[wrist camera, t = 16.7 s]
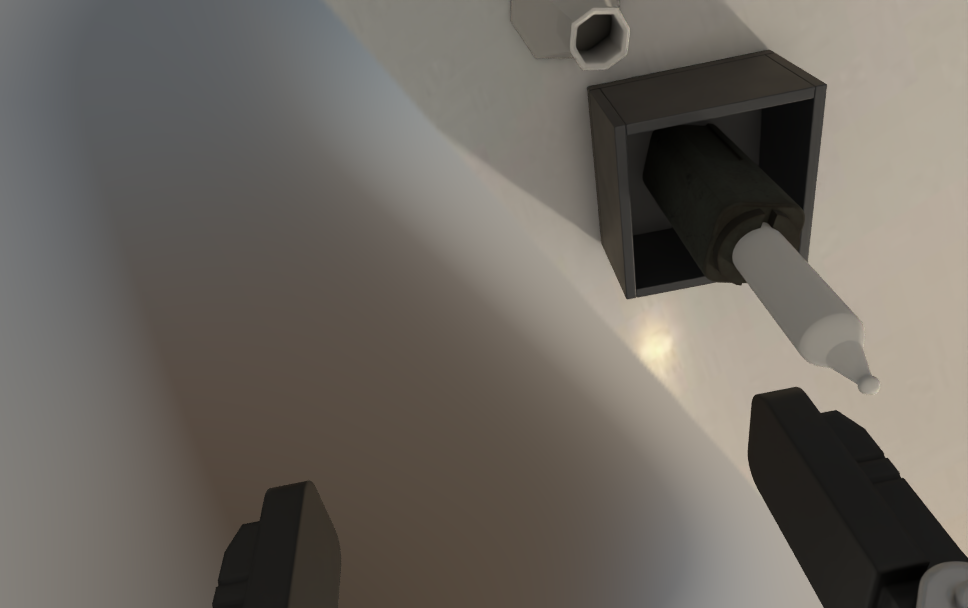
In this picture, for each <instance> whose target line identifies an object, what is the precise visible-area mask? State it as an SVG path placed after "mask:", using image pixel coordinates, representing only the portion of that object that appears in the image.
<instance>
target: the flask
mask: <svg viewBox="0 0 968 608" xmlns="http://www.w3.org/2000/svg"><path fill="white" fill-rule="evenodd" d="M619 7H620V0H511V22H512V24H513V25H514V27H515V28H516V30H517V31H518V33H519V34H520V36H521V37H522V39H523V40H524V42H525V43H526V45H527V46H528V48H529V49H530V51H531V52H532V54H533V55H534V57H535V58H575V60H576V62H577V63H578V65H579V66H580V68H581V69H582V70H607V69H608V68H610V67H611V66H612V65H614V64H615V63H617V62H618V61H619V60H621V59H622V58H623V57H625V56H626V55H627V52H628V44H629V36H630V27H629V26H628V24H627V22H626V20H625V19H624V17H623V15H622V13H621V12H620V10H619Z"/></svg>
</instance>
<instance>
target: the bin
mask: <svg viewBox="0 0 968 608" xmlns="http://www.w3.org/2000/svg"><path fill="white" fill-rule="evenodd" d="M826 89H827V84H825V83H824V82H822V81H820V80H819V79H817V78H815V77H814V76H812V75H811V74H809V73H807V72H806V71H804V70H802V69H801V68H799V67H797V66H796V65H794V64H792V63H791V62H789V61H787V60H786V59H784V58H783V57H781V56H779V55H778V54H776V53H774V52H773V51H771V50H766V51H761V52H756V53H751V54H747V55H742V56H737V57H732V58H727V59H722V60H717V61H712V62H707V63H702V64H698V65H693V66H688V67H683V68H678V69H673V70H668V71H663V72H658V73H653V74H649V75H644V76H639V77H634V78H629V79H624V80H619V81H614V82H609V83H604V84H600V85H595V86H590V87H587V92H588V103H589V113H590V124H591V135H592V146H593V157H594V167H595V178H596V189H597V200H598V211H599V221H600V232H601V243H602V246H603V248H604V250H605V252H606V255H607V257H608V259H609V261H610V263H611V266H612V268H613V270H614V272H615V274H616V277H617V279H618V281H619V283H620V286H621V288H622V290H623V292H624V294H625V297H626V299H632V298H636V297H643V296H648V295H653V294H658V293H663V292H669V291H674V290H679V289H684V288H689V287H695V286H700V285H705V284H710V283H715V282H713V281H710V280H708V279H707V278H706V277H705V276H704V274H703V273H702V271H701V270H700V268H699V267H698V265H697V263H696V262H695V260H694V259H693V257H692V256H691V254H690V253H689V251H688V250H687V248H686V247H685V245H684V244H683V242H682V241H681V239H680V238H679V236H678V234H677V233H676V231H675V230H674V228H673V227H672V225H671V224H670V222H669V221H668V219H667V218H666V216H665V215H664V213H663V212H662V210H661V209H660V207H659V205H658V204H657V202H656V201H655V199H654V198H653V196H652V195H651V193H650V192H649V190H648V189H647V187H646V186H645V184H644V182H643V171H644V166H645V162H646V157H647V153H648V148H649V144H650V139H651V136H652V133H653V131H654V130H657V129H662V128H667V127H672V126H677V125H696V126H706V125H707V124H708V123H709V124H714V125H715V126H717V127H718V128H719V129H720V130H721V131H722V132H723V133H724V134H725V135H726V136H727V137H728V138H730V139H731V140H732V141H733V142H734V143H735V144H736V145H737V146H738V147H739V148H740V149H741V150H742V151H743V152H744V153H745V154H746V155H747V156H748V157H749V158H750V159H751V160H752V161H753V162H754V163H755V164H756V165H757V166H758V167H760V168H761V169H762V170H763V171H764V172H765V173H766V174H767V175H768V176H769V177H770V178H771V179H772V180H773V181H774V182H775V183H776V184H777V185H778V186H779V187H780V188H781V189H782V190H783V191H784V192H785V193H786V194H787V195H788V196H790V197H791V198H792V199H793V200H794V201H795V202H796V203H797V204H798V205H799V206H800V207H801V208H802V209H803V211H804V213H805V223H804V226H803V229H802V231H801V234H800V246H799V250H798V253H799V254H800V255H801V256H802V257H803V258H804V259H805V260H806V261H807V262H808V255H809V245H810V236H811V227H812V218H813V209H814V199H815V190H816V181H817V172H818V163H819V153H820V144H821V135H822V126H823V117H824V107H825V98H826Z"/></svg>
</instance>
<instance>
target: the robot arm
mask: <svg viewBox="0 0 968 608" xmlns="http://www.w3.org/2000/svg"><path fill="white" fill-rule="evenodd" d="M748 461H749V467H750V471H751V474H752V477H753V480H754V482H755V484H756V486H757V488H758V490H759V492H760V494H761V496H762V497H763V499H764V501H765V503H766V505H767V506H768V508H769V510H770V512H771V513H772V515H773V517H774V519H775V521H776V522H777V524H778V526H779V528H780V530H781V531H782V533H783V535H784V537H785V539H786V540H787V542H788V544H789V546H790V548H791V549H792V551H793V553H794V555H795V557H796V558H797V560H798V562H799V564H800V565H801V567H802V569H803V571H804V573H805V575H806V576H807V578H808V580H809V582H810V584H811V585H812V587H813V589H814V591H815V592H816V594H817V596H818V598H819V600H820V602H821V603H822V605H823V607H824V608H968V558H967V557H966V555H965V554H964V553H963V552H962V551H961V550H960V548H959V547H958V546H957V545H956V543H955V542H954V541H953V540H952V538H951V537H950V536H949V535H948V533H947V532H946V531H945V529H944V528H943V527H942V526H941V524H940V523H939V522H938V521H937V519H936V518H935V517H934V516H933V514H932V513H931V512H930V511H929V509H928V508H927V507H926V506H925V504H924V503H923V502H922V500H921V499H920V498H919V497H918V495H917V494H916V493H915V492H914V490H913V489H912V488H911V487H910V485H909V484H908V483H907V482H906V480H905V479H904V478H901V477H900V473H899V471H898V470H897V469H896V468H895V466H894V465H893V464H892V463H891V461H890V460H889V459H888V458H885V456H884V453H883V451H882V450H881V449H880V448H879V446H878V445H877V444H876V442H875V441H874V440H873V439H872V437H871V436H870V435H869V434H868V432H867V431H866V430H865V429H864V428H863V427H861V426H860V425H858V424H857V423H855V422H854V421H852V420H851V419H849V418H848V417H846V416H845V415H843V414H841V413H840V412H838V411H837V410H834V411H829V412H824V413H820V412H819V411H818V409H817V408H816V406H815V405H814V404H813V402H812V401H811V400H810V398H809V397H808V396H807V394H806V393H805V392H804V391H803V390H802V389H801V388H799V387H793V388H788V389H783V390H777V391H772V392H767V393H762V394H757V395H755V396H754V397H753V399H752V406H751V418H750V430H749V442H748ZM340 571H341V553H340V545H339V540H338V536H337V533H336V530H335V528H334V526H333V524H332V521H331V520H330V517H329V515H328V513H327V511H326V509H325V506H324V504H323V502H322V500H321V498H320V495H319V493H318V491H317V489H316V487H315V485H314V484H313V482H312V481H305V482H300V483H295V484H289V485H284V486H279V487H274V488H270V489H268V490H267V492H266V494H265V497H264V502H263V507H262V512H261V517H260V521H258V522H253V523H247V524H243V525H242V526H241V528H240V529H239V531H238V532H237V534H236V535H235V537H234V538H233V540H232V542H231V543H230V545H229V546H228V548H227V549H226V551H225V553H224V557H223V561H222V566H221V570H220V574H219V578H218V584H219V585H218V587H216V591H215V595H214V599H213V603H212V606H213V608H338V599H339V585H340V573H341V572H340Z"/></svg>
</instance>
